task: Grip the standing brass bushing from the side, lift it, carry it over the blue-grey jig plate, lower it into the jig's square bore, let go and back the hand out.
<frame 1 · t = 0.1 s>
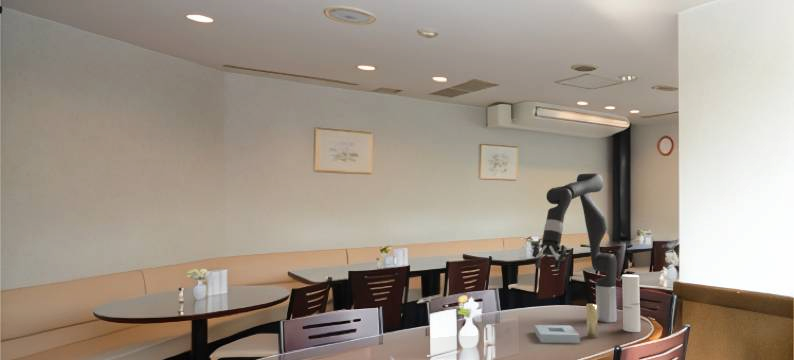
hand: (546, 268, 214), 31 cm above the table, tool tilted 20°, fingers open, 8 cm apart
jig: (556, 337, 222), on the table
bushing: (592, 336, 223), on the table
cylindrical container: (631, 330, 234), on the table
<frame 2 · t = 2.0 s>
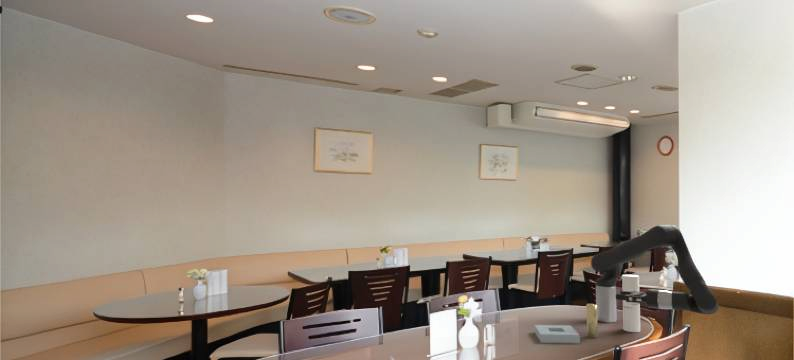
hand: (618, 295, 217), 19 cm above the table, tool horizontal, fingers open, 8 cm apart
nothing on the table moved.
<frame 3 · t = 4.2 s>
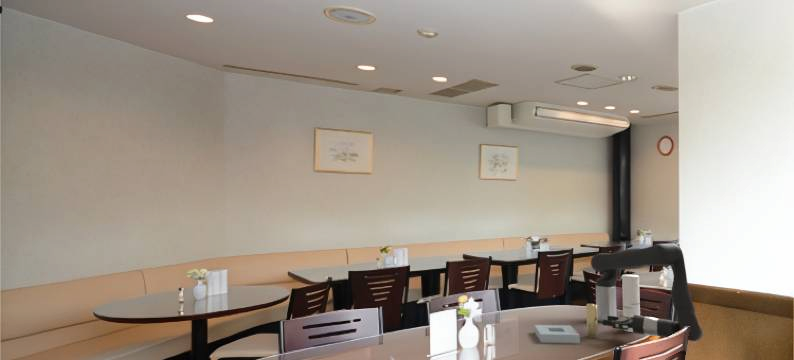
hand: (605, 320, 220), 8 cm above the table, tool horizontal, fingers open, 8 cm apart
nothing on the table moved.
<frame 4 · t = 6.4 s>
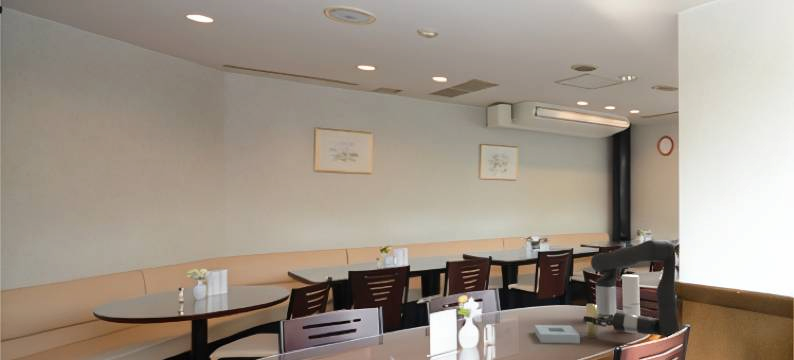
hand: (585, 317, 225), 8 cm above the table, tool horizontal, fingers closed on bushing, 4 cm apart
bushing: (592, 336, 223), on the table, touching gripper
everything else where it was.
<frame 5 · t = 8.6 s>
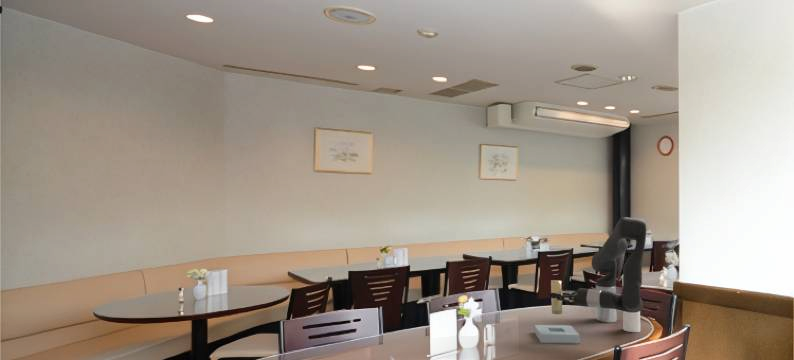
hand: (550, 294, 224), 19 cm above the table, tool horizontal, fingers closed on bushing, 4 cm apart
bushing: (557, 313, 222), point 11 cm above the table, touching gripper
everything else where it was.
when the fingers open (9 cm above the table, at t = 11.3 s): bushing drops 1 cm, resting in jig.
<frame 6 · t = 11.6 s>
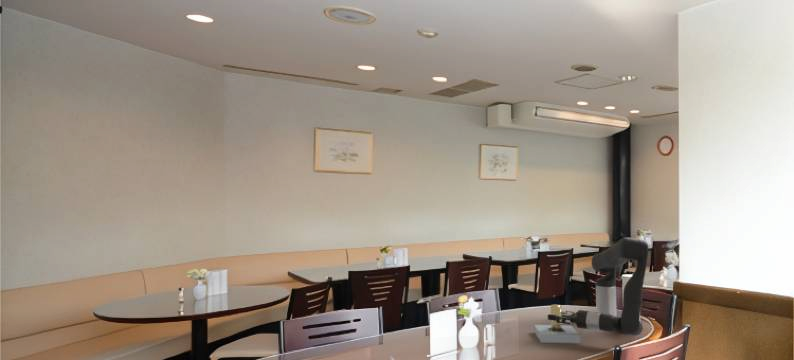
hand: (551, 315, 223), 10 cm above the table, tool horizontal, fingers open, 7 cm apart
bushing: (556, 337, 222), resting in jig
everything else where it was.
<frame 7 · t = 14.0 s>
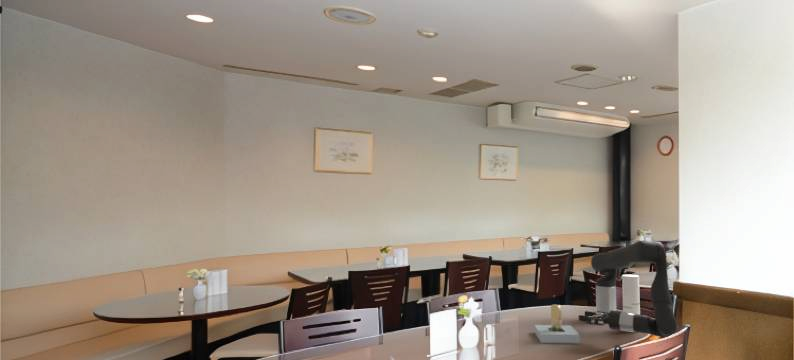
hand: (581, 315, 216), 11 cm above the table, tool horizontal, fingers open, 8 cm apart
nothing on the table moved.
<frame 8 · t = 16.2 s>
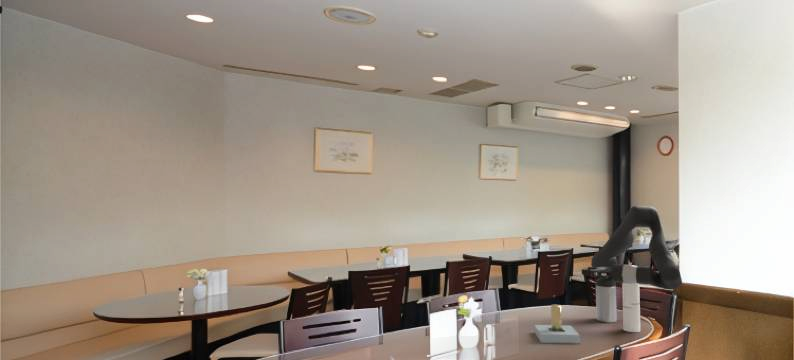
hand: (584, 270, 217), 30 cm above the table, tool horizontal, fingers open, 8 cm apart
nothing on the table moved.
at the end: bushing 0.2 cm off-centre on the jig, point 0.0 cm above the jig's base; bushing tilted 0°; the gripper is holding nothing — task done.
